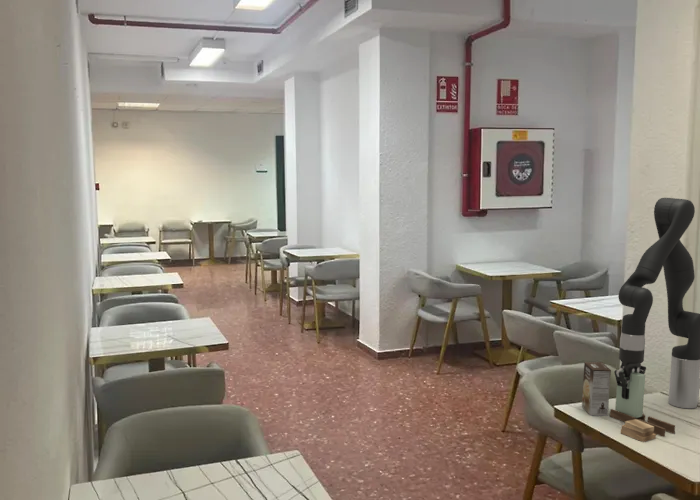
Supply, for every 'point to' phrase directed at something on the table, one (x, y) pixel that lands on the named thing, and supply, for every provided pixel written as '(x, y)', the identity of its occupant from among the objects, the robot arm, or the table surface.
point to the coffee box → (596, 388)
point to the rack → (658, 424)
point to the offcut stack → (638, 430)
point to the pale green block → (632, 397)
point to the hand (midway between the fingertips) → (628, 397)
